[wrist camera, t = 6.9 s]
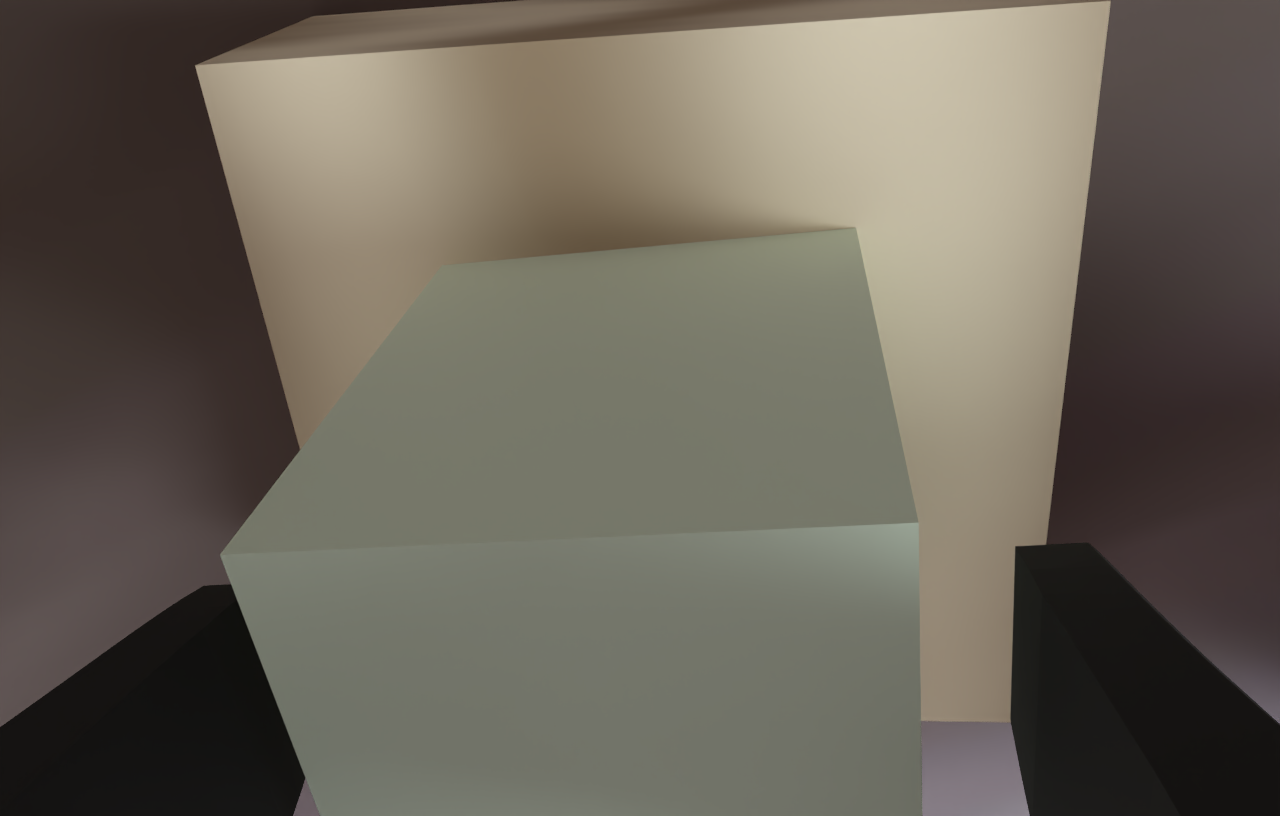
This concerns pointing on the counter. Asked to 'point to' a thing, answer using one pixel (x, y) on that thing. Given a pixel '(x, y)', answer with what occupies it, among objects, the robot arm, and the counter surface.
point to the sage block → (604, 547)
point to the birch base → (710, 209)
